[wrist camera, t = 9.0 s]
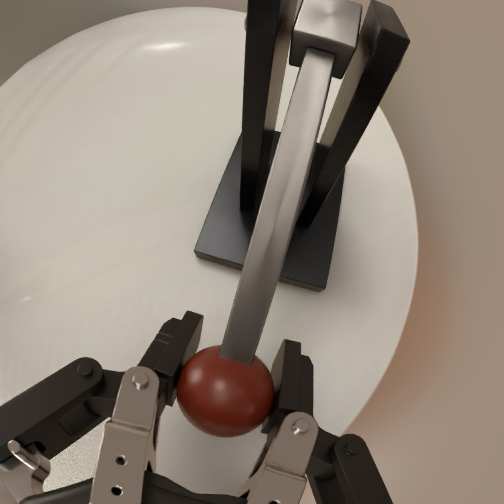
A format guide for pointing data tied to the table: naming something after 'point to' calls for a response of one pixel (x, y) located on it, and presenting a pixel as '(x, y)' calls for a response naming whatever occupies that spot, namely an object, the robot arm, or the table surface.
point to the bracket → (266, 138)
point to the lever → (270, 232)
